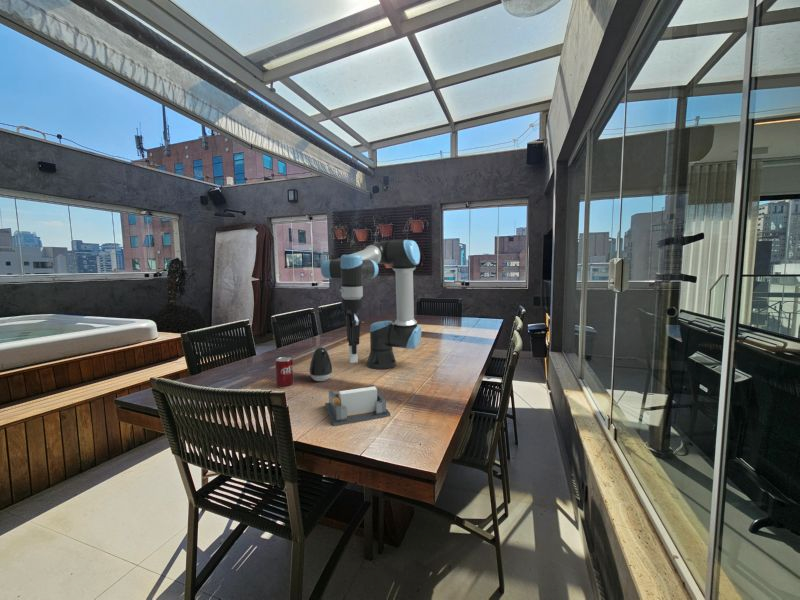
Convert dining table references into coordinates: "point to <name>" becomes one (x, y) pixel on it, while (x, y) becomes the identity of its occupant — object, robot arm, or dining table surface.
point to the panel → (358, 400)
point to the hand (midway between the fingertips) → (353, 361)
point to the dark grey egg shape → (320, 365)
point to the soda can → (284, 372)
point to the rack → (340, 414)
